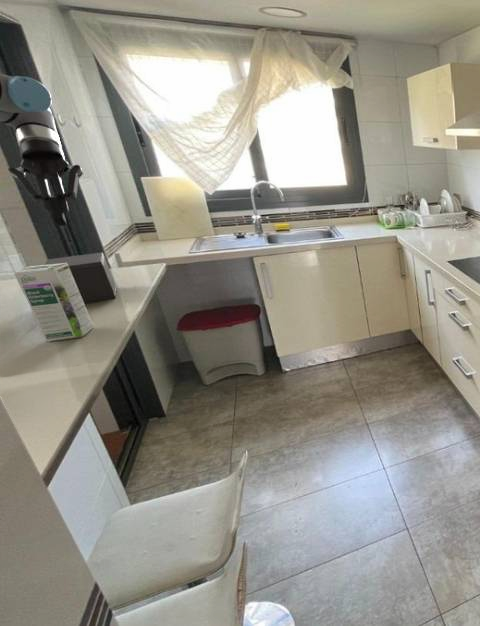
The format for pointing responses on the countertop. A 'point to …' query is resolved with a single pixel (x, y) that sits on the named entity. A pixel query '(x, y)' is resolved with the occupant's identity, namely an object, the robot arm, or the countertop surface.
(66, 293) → the syrup box
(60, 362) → the countertop surface
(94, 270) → the dark brown box
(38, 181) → the robot arm
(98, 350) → the countertop surface
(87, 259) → the lid
